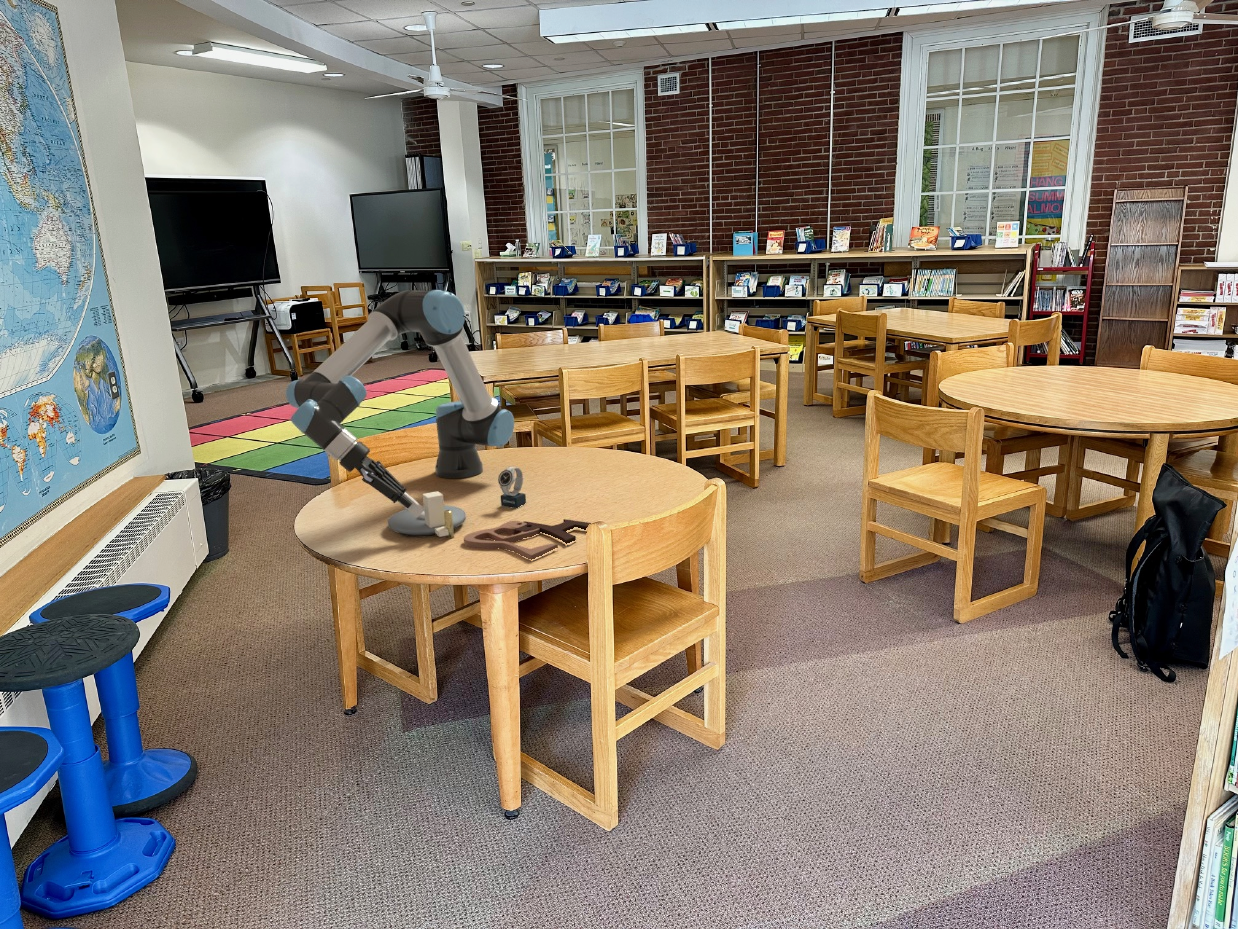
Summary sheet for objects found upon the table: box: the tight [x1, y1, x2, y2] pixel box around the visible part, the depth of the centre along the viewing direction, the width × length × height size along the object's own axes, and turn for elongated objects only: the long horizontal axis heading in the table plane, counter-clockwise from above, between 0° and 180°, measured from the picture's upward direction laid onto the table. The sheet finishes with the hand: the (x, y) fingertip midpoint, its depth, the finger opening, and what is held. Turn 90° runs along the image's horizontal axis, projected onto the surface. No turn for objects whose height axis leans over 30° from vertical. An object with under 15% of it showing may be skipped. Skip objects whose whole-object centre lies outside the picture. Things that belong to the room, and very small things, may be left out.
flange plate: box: [387, 490, 467, 538], centre depth 219 cm, size 24×20×9 cm
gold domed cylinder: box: [444, 510, 455, 540], centre depth 213 cm, size 2×2×7 cm
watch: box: [497, 466, 527, 509], centre depth 236 cm, size 6×8×11 cm
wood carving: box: [463, 518, 592, 560], centre depth 212 cm, size 28×2×24 cm
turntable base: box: [397, 526, 458, 538], centre depth 222 cm, size 16×16×1 cm
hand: (420, 513), depth 213 cm, fingers closed
